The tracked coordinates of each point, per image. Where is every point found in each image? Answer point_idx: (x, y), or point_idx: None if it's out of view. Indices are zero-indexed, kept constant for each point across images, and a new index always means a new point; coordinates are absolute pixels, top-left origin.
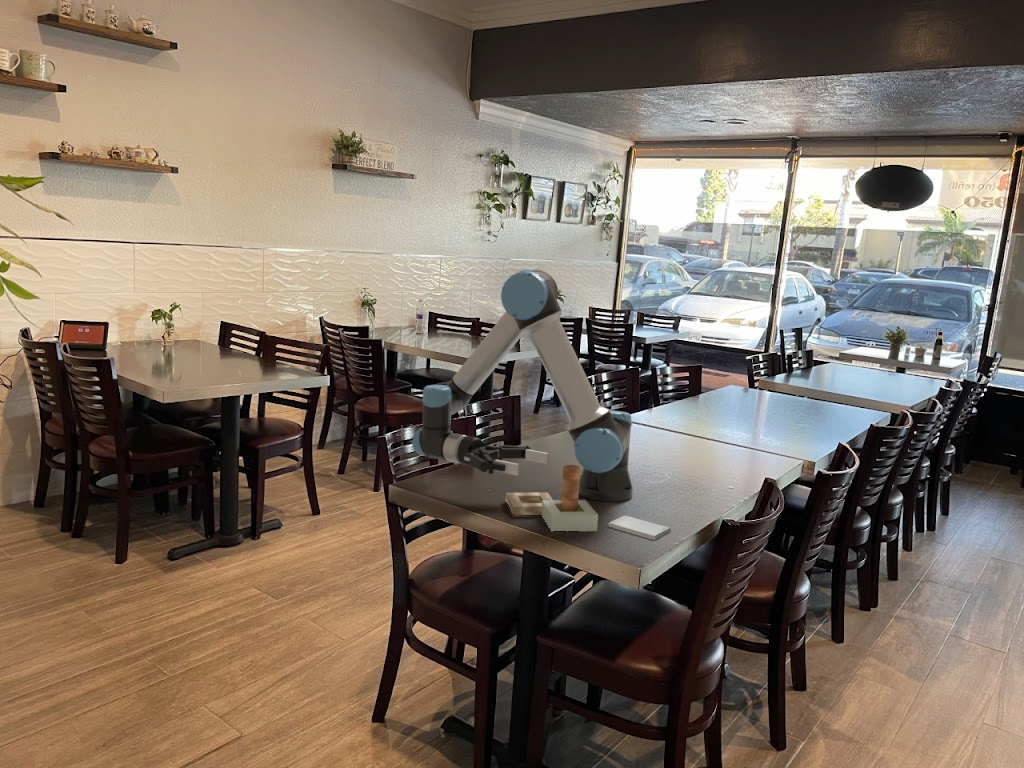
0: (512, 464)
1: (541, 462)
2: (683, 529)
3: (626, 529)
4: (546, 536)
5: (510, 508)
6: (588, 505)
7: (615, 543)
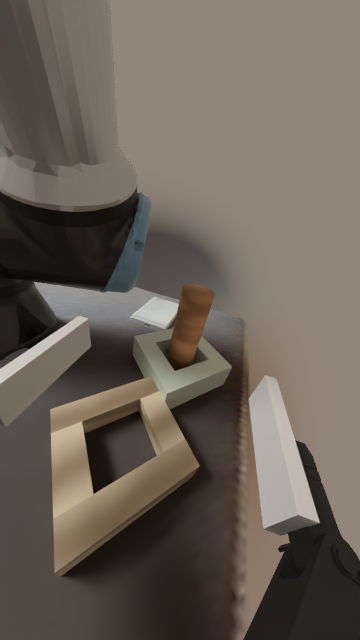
0: (280, 397)
1: (76, 358)
2: (144, 293)
3: (173, 319)
4: (242, 387)
5: (157, 501)
6: (159, 332)
7: (208, 329)
